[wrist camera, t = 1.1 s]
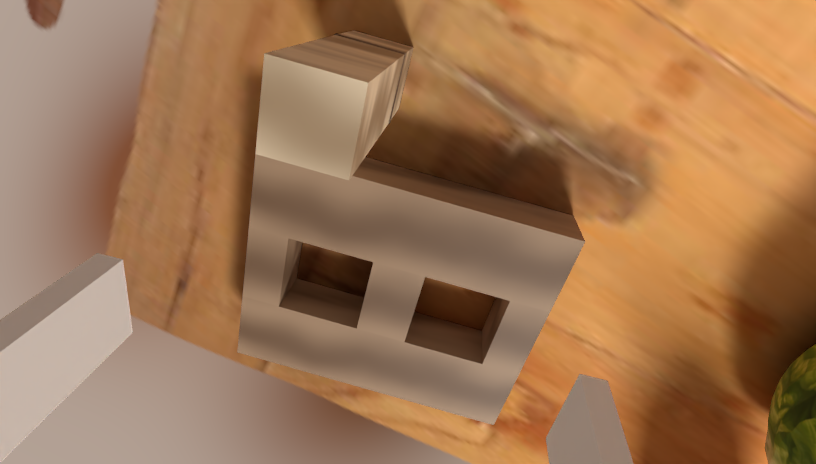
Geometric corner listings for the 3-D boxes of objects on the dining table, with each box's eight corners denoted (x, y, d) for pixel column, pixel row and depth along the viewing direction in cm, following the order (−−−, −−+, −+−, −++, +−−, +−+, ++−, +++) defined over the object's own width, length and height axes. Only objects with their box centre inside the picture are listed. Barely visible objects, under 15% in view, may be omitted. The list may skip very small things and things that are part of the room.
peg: (352, 29, 29) (263, 51, 17) (414, 46, 29) (370, 81, 17) (341, 92, 31) (254, 154, 19) (399, 109, 31) (349, 181, 19)
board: (279, 132, 33) (255, 148, 30) (573, 215, 33) (585, 241, 30) (257, 322, 42) (237, 352, 38) (491, 388, 41) (493, 424, 38)
